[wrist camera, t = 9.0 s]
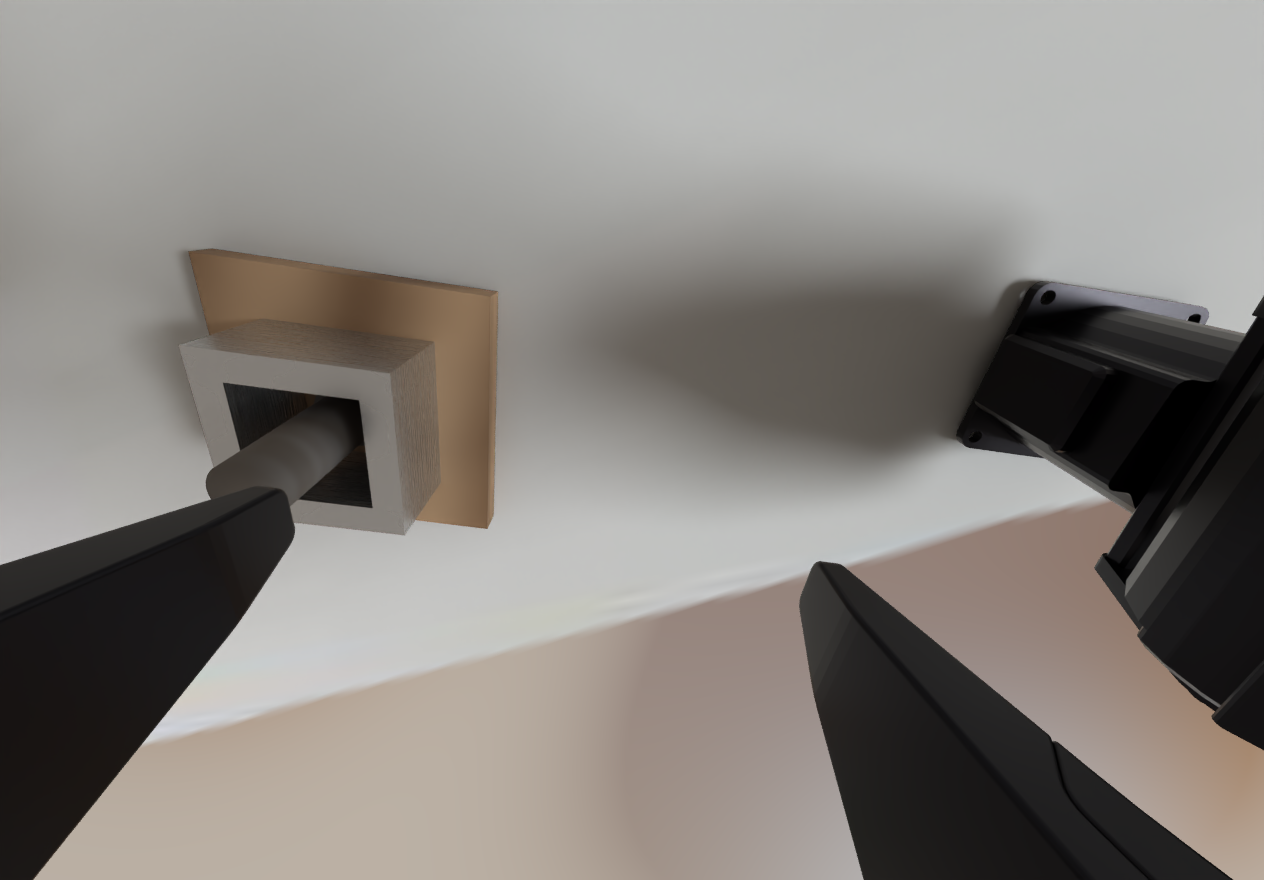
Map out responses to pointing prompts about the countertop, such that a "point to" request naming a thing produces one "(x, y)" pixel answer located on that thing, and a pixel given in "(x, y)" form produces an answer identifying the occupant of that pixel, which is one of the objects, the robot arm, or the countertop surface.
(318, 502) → the grey square socket
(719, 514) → the countertop surface
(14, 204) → the countertop surface
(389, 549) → the countertop surface
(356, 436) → the keeper
